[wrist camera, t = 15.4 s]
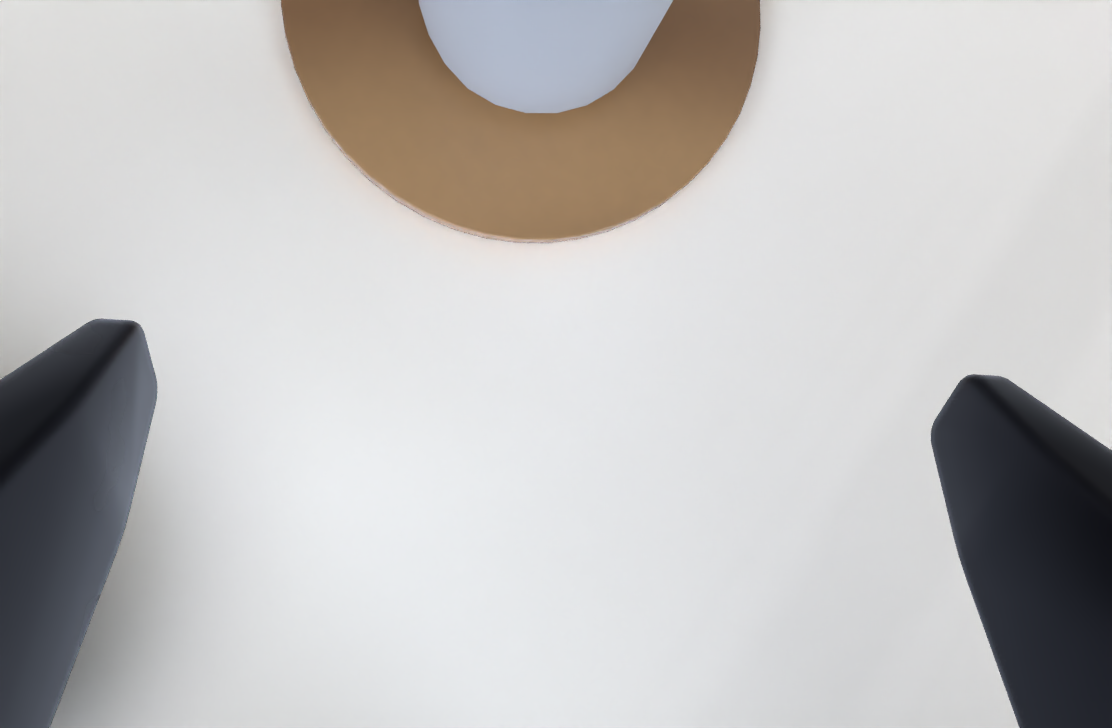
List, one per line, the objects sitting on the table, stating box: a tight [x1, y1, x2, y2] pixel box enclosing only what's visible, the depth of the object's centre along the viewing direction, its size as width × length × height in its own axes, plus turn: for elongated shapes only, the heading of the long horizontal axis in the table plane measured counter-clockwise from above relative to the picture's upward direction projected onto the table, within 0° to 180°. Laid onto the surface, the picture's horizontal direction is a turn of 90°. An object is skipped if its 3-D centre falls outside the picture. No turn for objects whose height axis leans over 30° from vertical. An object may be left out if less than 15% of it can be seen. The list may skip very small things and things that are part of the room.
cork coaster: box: [281, 0, 760, 243], centre depth 17 cm, size 10×10×1 cm
